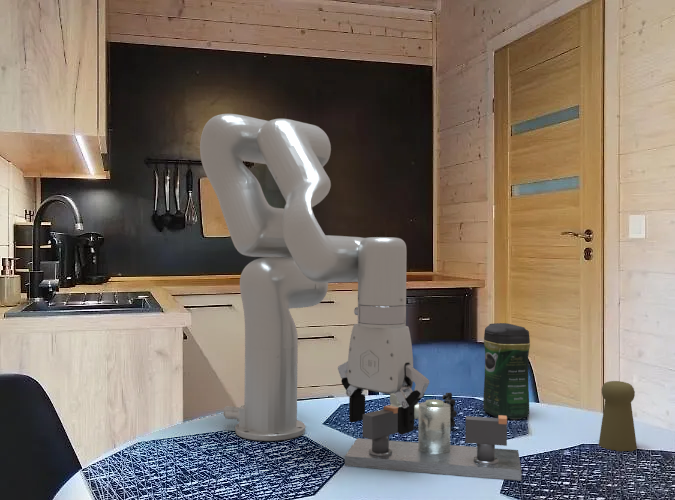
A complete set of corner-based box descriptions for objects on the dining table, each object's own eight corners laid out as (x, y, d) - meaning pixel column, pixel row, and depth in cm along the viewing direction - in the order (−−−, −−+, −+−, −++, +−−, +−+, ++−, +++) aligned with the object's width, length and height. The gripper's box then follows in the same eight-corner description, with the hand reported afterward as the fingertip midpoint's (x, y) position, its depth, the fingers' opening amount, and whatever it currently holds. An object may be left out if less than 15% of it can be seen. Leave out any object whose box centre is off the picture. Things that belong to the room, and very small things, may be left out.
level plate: (344, 465, 100) (345, 406, 100) (357, 447, 110) (357, 392, 110) (521, 480, 94) (521, 417, 94) (518, 459, 104) (518, 402, 104)
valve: (392, 434, 118) (456, 432, 120) (392, 397, 119) (456, 396, 120) (385, 424, 125) (445, 423, 127) (385, 390, 125) (446, 389, 127)
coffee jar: (536, 419, 130) (536, 325, 130) (499, 421, 128) (500, 326, 128) (511, 408, 139) (512, 320, 139) (477, 410, 137) (478, 321, 137)
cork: (637, 444, 113) (637, 380, 113) (637, 453, 108) (637, 386, 108) (599, 439, 116) (600, 377, 116) (597, 448, 110) (598, 383, 110)
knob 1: (373, 456, 99) (373, 414, 99) (360, 452, 101) (361, 410, 101) (399, 448, 103) (399, 407, 103) (387, 445, 105) (387, 405, 105)
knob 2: (465, 460, 98) (465, 416, 98) (465, 454, 100) (466, 412, 100) (506, 463, 96) (507, 419, 96) (506, 458, 99) (506, 415, 99)
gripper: (325, 314, 105) (323, 420, 105) (412, 322, 93) (411, 442, 93) (355, 311, 111) (354, 412, 110) (441, 319, 99) (440, 432, 99)
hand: (380, 426), depth 102 cm, fingers open, 9 cm apart
